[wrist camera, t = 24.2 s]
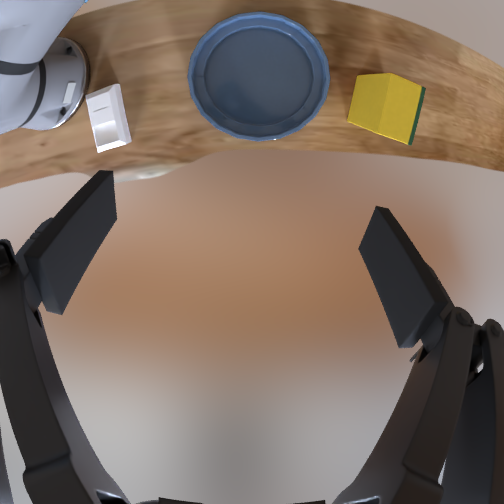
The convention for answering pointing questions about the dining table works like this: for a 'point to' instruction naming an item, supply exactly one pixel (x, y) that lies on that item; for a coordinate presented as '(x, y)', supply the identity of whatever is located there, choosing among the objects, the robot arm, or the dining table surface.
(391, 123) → the sponge
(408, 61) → the dining table surface
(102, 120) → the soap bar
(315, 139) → the dining table surface
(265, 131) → the bowl
